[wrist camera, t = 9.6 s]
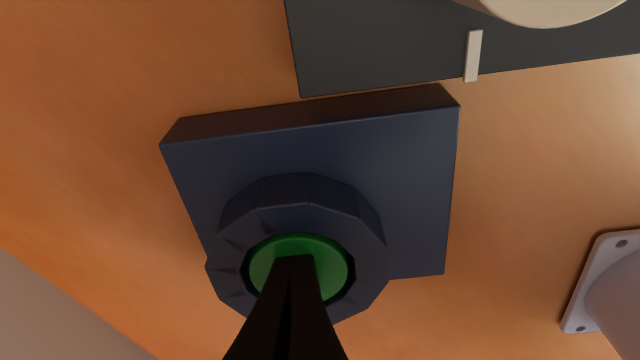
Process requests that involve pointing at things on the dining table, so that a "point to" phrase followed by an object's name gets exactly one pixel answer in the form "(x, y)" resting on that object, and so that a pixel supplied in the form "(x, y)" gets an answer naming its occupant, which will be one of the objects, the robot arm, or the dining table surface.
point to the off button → (323, 249)
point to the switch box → (322, 186)
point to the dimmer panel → (435, 42)
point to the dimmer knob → (542, 11)
